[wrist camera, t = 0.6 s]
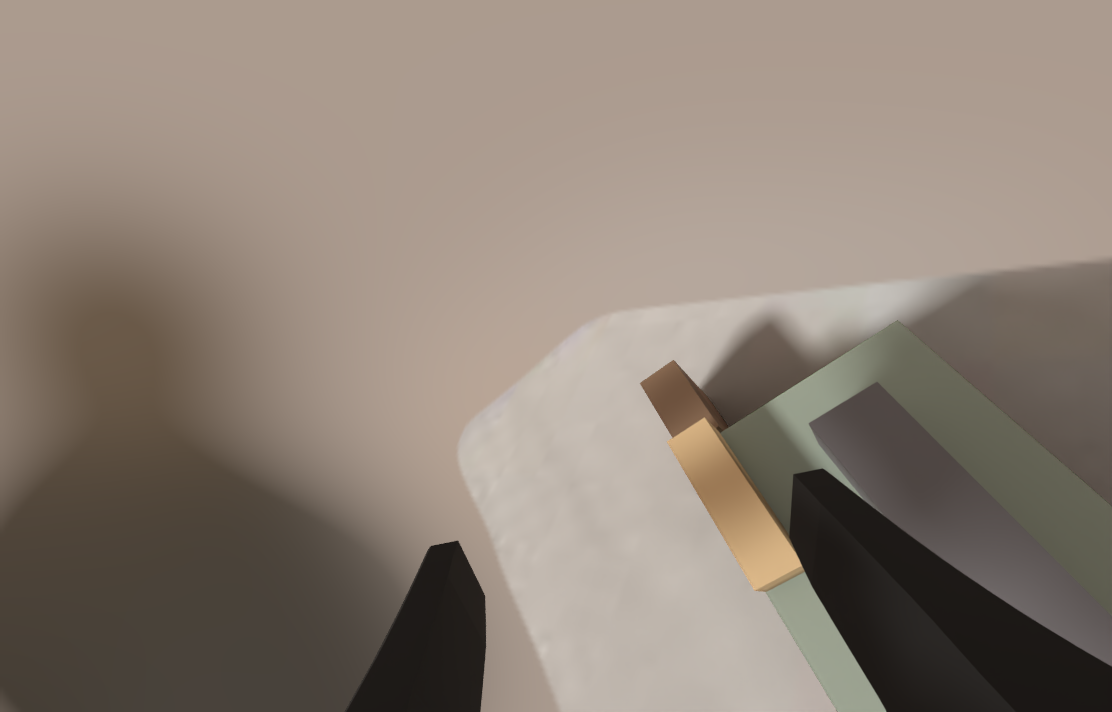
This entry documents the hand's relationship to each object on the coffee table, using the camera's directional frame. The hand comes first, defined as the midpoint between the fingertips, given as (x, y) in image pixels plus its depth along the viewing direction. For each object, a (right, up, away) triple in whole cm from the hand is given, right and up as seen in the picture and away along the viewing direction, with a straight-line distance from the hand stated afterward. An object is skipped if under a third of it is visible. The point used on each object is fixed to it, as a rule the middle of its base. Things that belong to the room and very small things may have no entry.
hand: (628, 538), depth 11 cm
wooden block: (+6, -2, +9) cm, 11 cm away
